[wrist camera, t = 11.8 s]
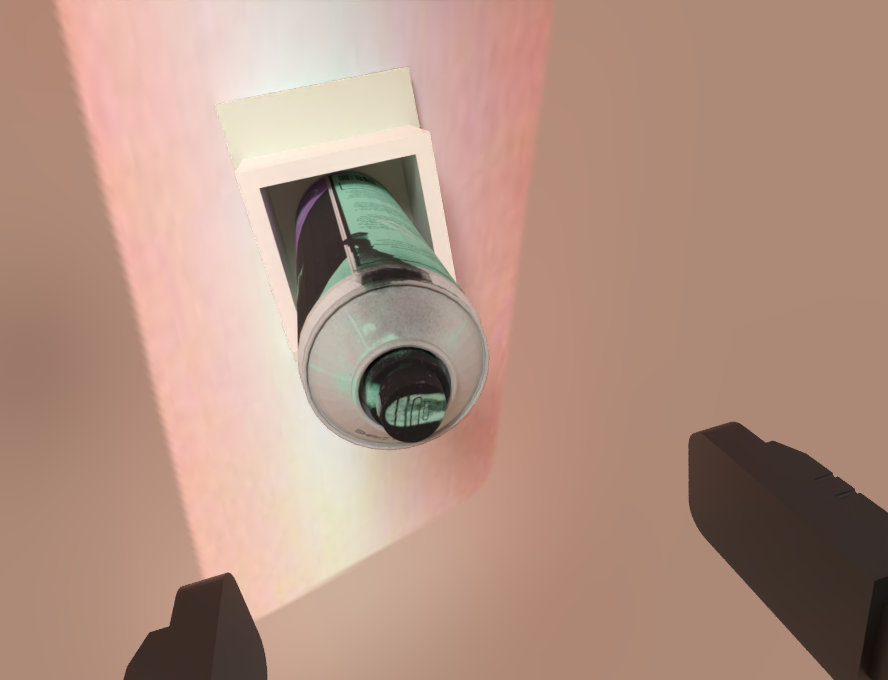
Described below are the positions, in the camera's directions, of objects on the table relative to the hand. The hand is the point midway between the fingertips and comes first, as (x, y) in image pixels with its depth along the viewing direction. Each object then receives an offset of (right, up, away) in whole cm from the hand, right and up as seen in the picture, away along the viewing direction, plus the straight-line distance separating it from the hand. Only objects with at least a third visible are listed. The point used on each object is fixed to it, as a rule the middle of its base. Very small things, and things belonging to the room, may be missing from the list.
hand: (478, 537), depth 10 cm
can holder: (-6, +10, +23) cm, 26 cm away
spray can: (-6, +10, +22) cm, 25 cm away
